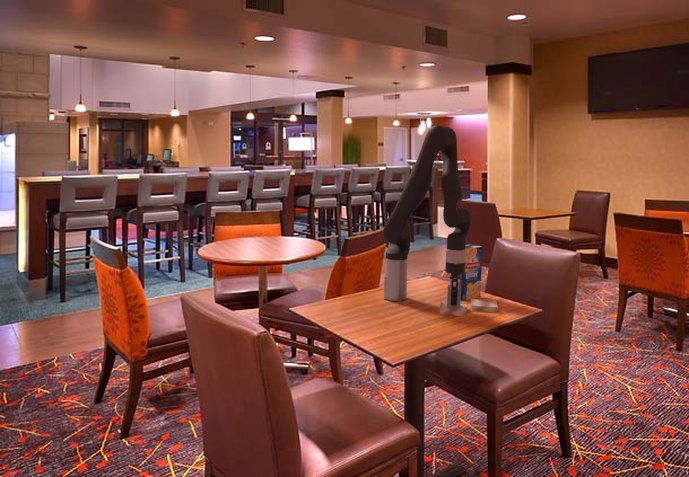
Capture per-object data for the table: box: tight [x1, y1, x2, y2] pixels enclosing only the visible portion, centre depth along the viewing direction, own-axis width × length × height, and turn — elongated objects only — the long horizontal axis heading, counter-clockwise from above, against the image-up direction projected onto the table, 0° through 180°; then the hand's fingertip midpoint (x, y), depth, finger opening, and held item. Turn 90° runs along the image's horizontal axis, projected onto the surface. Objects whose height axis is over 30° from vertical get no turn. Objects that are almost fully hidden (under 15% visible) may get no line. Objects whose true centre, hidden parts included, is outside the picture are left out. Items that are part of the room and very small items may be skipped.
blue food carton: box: [450, 243, 484, 301], centre depth 233 cm, size 7×11×22 cm, turn 121°
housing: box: [446, 284, 462, 309], centre depth 213 cm, size 5×5×8 cm
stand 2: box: [470, 298, 499, 313], centre depth 219 cm, size 10×10×2 cm
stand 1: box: [439, 301, 468, 317], centre depth 214 cm, size 10×10×2 cm
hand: (453, 303), depth 213 cm, fingers closed on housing, 5 cm apart
